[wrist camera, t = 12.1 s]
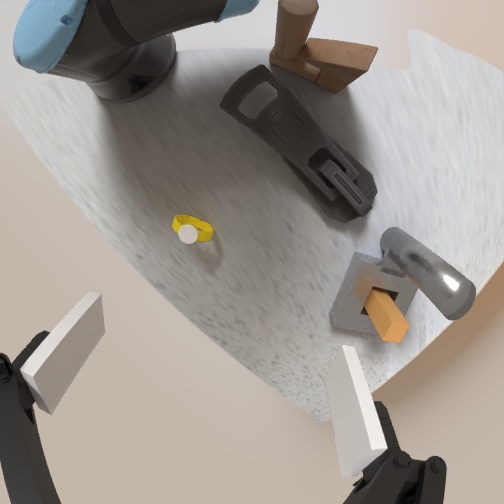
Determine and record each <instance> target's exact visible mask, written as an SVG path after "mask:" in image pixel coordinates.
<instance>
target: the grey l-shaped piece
mask: <svg viewBox="0 0 504 504" xmlns="http://www.w3.org/2000/svg"><path fill="white" fill-rule="evenodd" d="M380 245H381V249H382V250H383V252H384V256H383V258H382V259H379V258H375V257H372V256H368V255H365V254H362V253H358V252H355V253H354V255H353V258H352V260H351V263H350V266H349V268H348V271H347V273H346V276H345V278H344V281H343V283H342V285H341V288H340V290H339V293H338V295H337V297H336V300H335V302H334V304H333V307H332V309H331V311H330V313H329V315H330V318H331V321H332V324H333V327H335V328H340V329H345V330H351V331H356V332H362V333H367V334H373V335H379V333H378V331H377V329H376V327H375V326H374V324H373V322H372V320H371V318H370V316H369V314H368V313H367V311H366V309H365V307H364V304H365V302H366V300H367V298H368V296H369V294H370V291H371V289H372V287H373V286H375V287H379V288H383V289H387V290H386V292H387V294H388V295H389V296H390V298H391V299H392V300H393V302H394V303H395V305H396V306H397V307H398V309H399V310H400V312H401V313H402V314H403V316H404V315H405V314H406V312H407V310H408V308H409V306H410V304H411V302H412V300H413V298H414V296H415V294H416V292H417V289H418V287H419V289H420V290H421V291H422V292H423V293H424V294H425V295H426V296H427V297H428V298H429V299H430V300H431V302H432V303H433V304H434V305H435V306H436V307H437V308H438V309H439V311H440V312H441V313H442V314H443V315H444V316H445V317H446V318H447V319H448V320H457V319H459V318H461V317H462V316H464V315H465V314H466V313H467V312H468V311H469V309H470V308H471V306H472V305H473V302H474V300H475V296H476V288H475V286H474V284H473V283H472V282H471V281H470V280H468V279H467V278H466V277H465V276H463V275H462V274H461V273H460V272H458V271H457V270H456V269H455V268H453V267H452V266H451V265H450V264H448V263H447V262H446V261H444V260H443V259H442V258H440V257H439V256H438V255H436V254H435V253H434V252H432V251H431V250H430V249H428V248H427V247H426V246H424V245H423V244H421V243H420V242H419V241H417V240H416V239H414V238H413V237H412V236H410V235H409V234H407V233H406V232H404V231H403V230H401V229H400V228H398V227H392V228H389V229H387V230H386V231H385V232H384V233H383V235H382V237H381V241H380ZM379 336H380V335H379Z"/></svg>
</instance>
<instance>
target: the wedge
mask: <svg viewBox="0 0 504 504" xmlns="http://www.w3.org/2000/svg"><path fill="white" fill-rule="evenodd" d="M364 307H365V309H366V311H367V313H368V314H369V316H370V318H371V320H372V322H373V324H374V326H375V327H376V329H377V331H378V333H379V335H380V337H381V339H382V341H388V342H394V343H400V342H401V340H402V339H403V337H404V335H405V333H406V332H407V330H408V328H409V326H410V324H409V323H408V322H407V320H406V319H405V317H404V316H403V314H402V313H401V312H400V310H399V309H398V307H397V306H396V305H395V303H394V302H393V300H392V299H391V298H390V296H389V295H388V294H387V292H386V291H385V290H384V289H383V288H379V287H375V286H373V287H372V289H371V291H370V294H369V296H368V298H367V300H366V302H365V304H364Z"/></svg>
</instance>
